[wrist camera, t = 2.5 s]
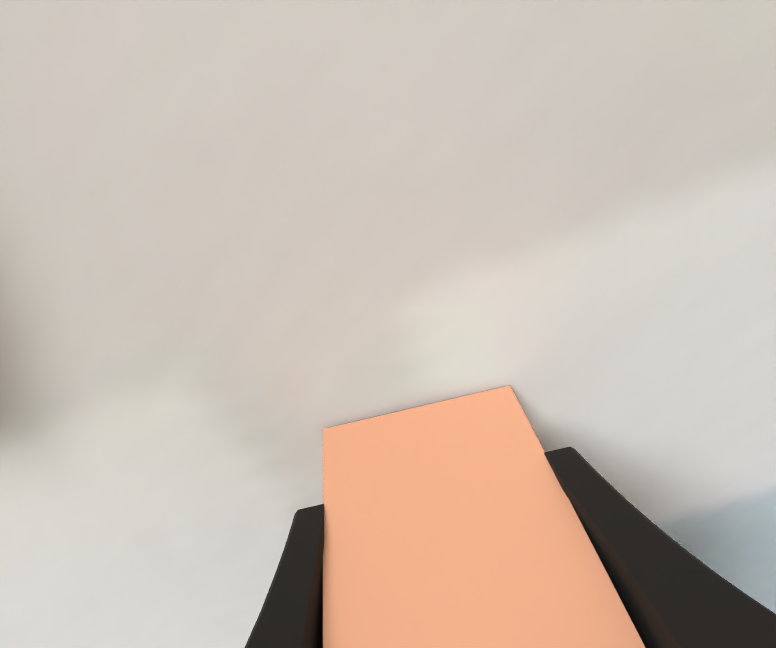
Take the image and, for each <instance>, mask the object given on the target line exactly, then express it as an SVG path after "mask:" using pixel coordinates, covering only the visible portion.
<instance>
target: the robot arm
mask: <svg viewBox="0 0 776 648" xmlns="http://www.w3.org/2000/svg"><path fill="white" fill-rule="evenodd" d="M544 455H545V456H546V458H547V460H548V462H549V464H550V466H551V468H552V470H553V472H554V474H555V476H556V478H557V480H558V482H559V484H560V486H561V488H562V489H563V491H564V493H565V494H566V496H567V497H568V499H569V500H570V502H571V504H572V506H573V508H574V510H575V512H576V514H577V516H578V518H579V520H580V522H581V524H582V526H583V528H584V529H585V531H586V533H587V535H588V537H589V539H590V541H591V543H592V545H593V547H594V549H595V551H596V553H597V555H598V557H599V559H600V561H601V562H602V564H603V566H604V568H605V570H606V572H607V574H608V576H609V578H610V580H611V582H612V584H613V586H614V588H615V590H616V592H617V593H618V595H619V597H620V599H621V601H622V603H623V605H624V607H625V609H626V611H627V613H628V615H629V617H630V619H631V621H632V623H633V624H634V626H635V628H636V630H637V632H638V634H639V636H640V638H641V640H642V642H643V644H644V646H645V648H776V614H775V613H773V612H772V611H770V610H769V609H767V608H766V607H764V606H763V605H761V604H760V603H758V602H757V601H755V600H754V599H752V598H751V597H749V596H748V595H746V594H745V593H744V592H742V591H741V590H739V589H738V588H736V587H735V586H734V585H732V584H731V583H729V582H728V581H727V580H725V579H724V578H722V577H721V576H720V575H718V574H717V573H716V572H714V571H713V570H711V569H710V568H709V567H707V566H706V565H705V564H703V563H702V562H701V561H700V560H698V559H697V558H696V557H694V556H693V555H692V554H690V553H689V552H688V551H687V550H685V549H684V548H683V547H682V546H680V545H679V544H678V543H677V542H675V541H674V540H673V539H672V538H670V537H669V536H668V535H667V534H666V533H664V532H663V531H662V530H661V529H660V528H658V527H657V526H656V525H655V524H654V523H652V522H651V521H650V520H649V519H648V518H647V517H646V516H644V515H643V514H642V513H641V512H640V511H639V510H638V509H636V508H635V507H634V506H633V505H632V504H631V503H630V502H628V501H627V500H626V499H625V498H624V497H623V496H622V495H621V494H620V493H619V492H617V491H616V490H615V489H614V488H613V487H612V486H611V485H610V484H609V483H608V482H607V481H606V480H605V479H604V478H603V477H602V476H601V475H600V474H599V473H598V472H597V471H596V470H595V469H594V468H593V467H592V466H591V465H590V464H589V463H588V462H587V461H586V460H585V459H584V458H583V457H582V456H581V455H580V454H579V453H578V452H577V451H576V450H575V449H573V448H572V447H567V448H562V449H558V450H554V451H549V452H545V453H544ZM323 551H324V504H321V505H317V506H313V507H308V508H304V509H300V510H298V511H297V512H296V513H295V515H294V519H293V522H292V526H291V529H290V532H289V535H288V539H287V542H286V545H285V548H284V551H283V554H282V556H281V559H280V562H279V565H278V568H277V571H276V573H275V576H274V578H273V581H272V584H271V586H270V589H269V591H268V594H267V597H266V599H265V602H264V604H263V607H262V609H261V612H260V614H259V617H258V619H257V621H256V623H255V626H254V628H253V630H252V632H251V635H250V637H249V639H248V641H247V644H246V646H245V648H323Z"/></svg>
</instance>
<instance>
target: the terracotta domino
mask: <svg viewBox="0 0 776 648" xmlns="http://www.w3.org/2000/svg"><path fill="white" fill-rule="evenodd" d="M544 453H545V452H544V450H543V448H542V446H541V444H540V442H539V440H538V438H537V436H536V435H535V433H534V431H533V429H532V427H531V425H530V423H529V421H528V419H527V417H526V415H525V413H524V411H523V409H522V407H521V405H520V404H519V402H518V400H517V398H516V396H515V394H514V392H513V390H512V388H511V386H510V385H509V386H505V387H501V388H496V389H492V390H488V391H484V392H479V393H475V394H471V395H466V396H462V397H458V398H454V399H449V400H445V401H441V402H437V403H432V404H428V405H424V406H419V407H415V408H411V409H407V410H402V411H398V412H394V413H390V414H385V415H381V416H377V417H372V418H368V419H364V420H360V421H355V422H351V423H347V424H343V425H338V426H334V427H330V428H325V429H323V504H324V551H323V648H645V646H644V644H643V642H642V640H641V638H640V636H639V634H638V632H637V630H636V628H635V626H634V624H633V623H632V621H631V619H630V617H629V615H628V613H627V611H626V609H625V607H624V605H623V603H622V601H621V599H620V597H619V595H618V593H617V592H616V590H615V588H614V586H613V584H612V582H611V580H610V578H609V576H608V574H607V572H606V570H605V568H604V566H603V564H602V562H601V561H600V559H599V557H598V555H597V553H596V551H595V549H594V547H593V545H592V543H591V541H590V539H589V537H588V535H587V533H586V531H585V529H584V528H583V526H582V524H581V522H580V520H579V518H578V516H577V514H576V512H575V510H574V508H573V506H572V504H571V502H570V500H569V499H568V497H567V496H566V494H565V493H564V491H563V489H562V488H561V486H560V484H559V482H558V480H557V478H556V476H555V474H554V472H553V470H552V468H551V466H550V464H549V462H548V460H547V458H546V456H545V455H544Z"/></svg>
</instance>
